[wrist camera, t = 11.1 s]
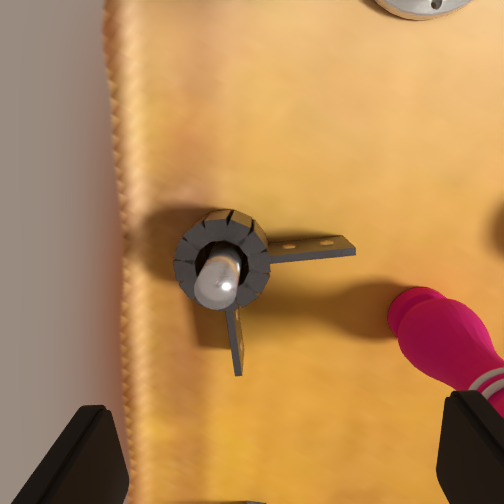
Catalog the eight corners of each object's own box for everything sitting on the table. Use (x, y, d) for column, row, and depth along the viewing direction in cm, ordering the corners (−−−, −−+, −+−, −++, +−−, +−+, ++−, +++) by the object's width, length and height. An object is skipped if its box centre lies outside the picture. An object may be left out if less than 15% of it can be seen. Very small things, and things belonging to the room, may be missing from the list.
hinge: (180, 214, 31) (166, 224, 26) (341, 197, 30) (356, 204, 26) (204, 353, 35) (195, 383, 31) (346, 341, 35) (359, 370, 30)
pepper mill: (369, 308, 34) (516, 508, 14) (430, 268, 32) (684, 431, 13) (404, 355, 35) (580, 594, 16) (464, 319, 34) (736, 533, 15)
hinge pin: (211, 237, 32) (190, 272, 22) (241, 234, 32) (233, 268, 22) (216, 266, 33) (197, 311, 23) (245, 263, 32) (239, 307, 23)
